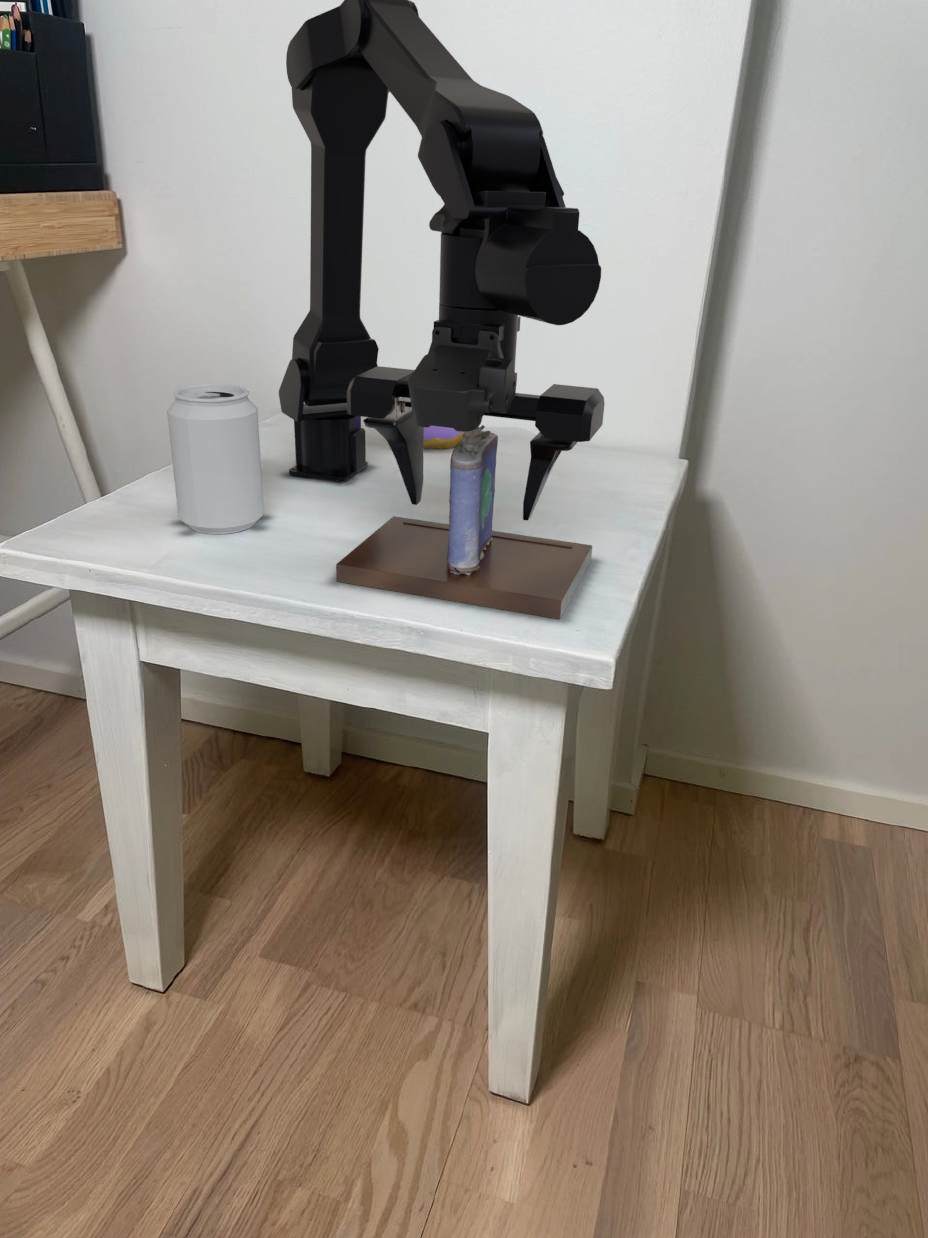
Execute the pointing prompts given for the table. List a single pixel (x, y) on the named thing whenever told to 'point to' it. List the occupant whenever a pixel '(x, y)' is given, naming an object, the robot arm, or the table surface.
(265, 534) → the table surface
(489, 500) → the flask
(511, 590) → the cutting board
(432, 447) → the donut
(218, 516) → the can
